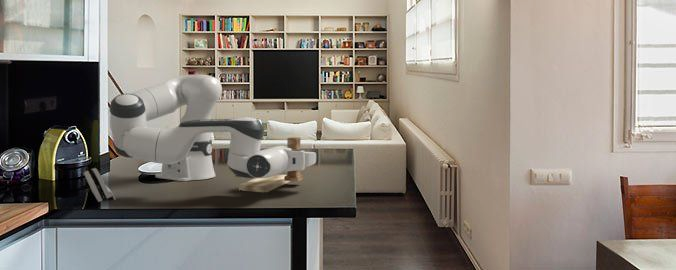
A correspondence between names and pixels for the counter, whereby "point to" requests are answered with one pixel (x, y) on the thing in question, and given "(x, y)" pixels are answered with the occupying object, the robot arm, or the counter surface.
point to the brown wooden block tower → (295, 144)
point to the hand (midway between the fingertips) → (294, 154)
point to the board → (263, 184)
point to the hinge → (98, 185)
